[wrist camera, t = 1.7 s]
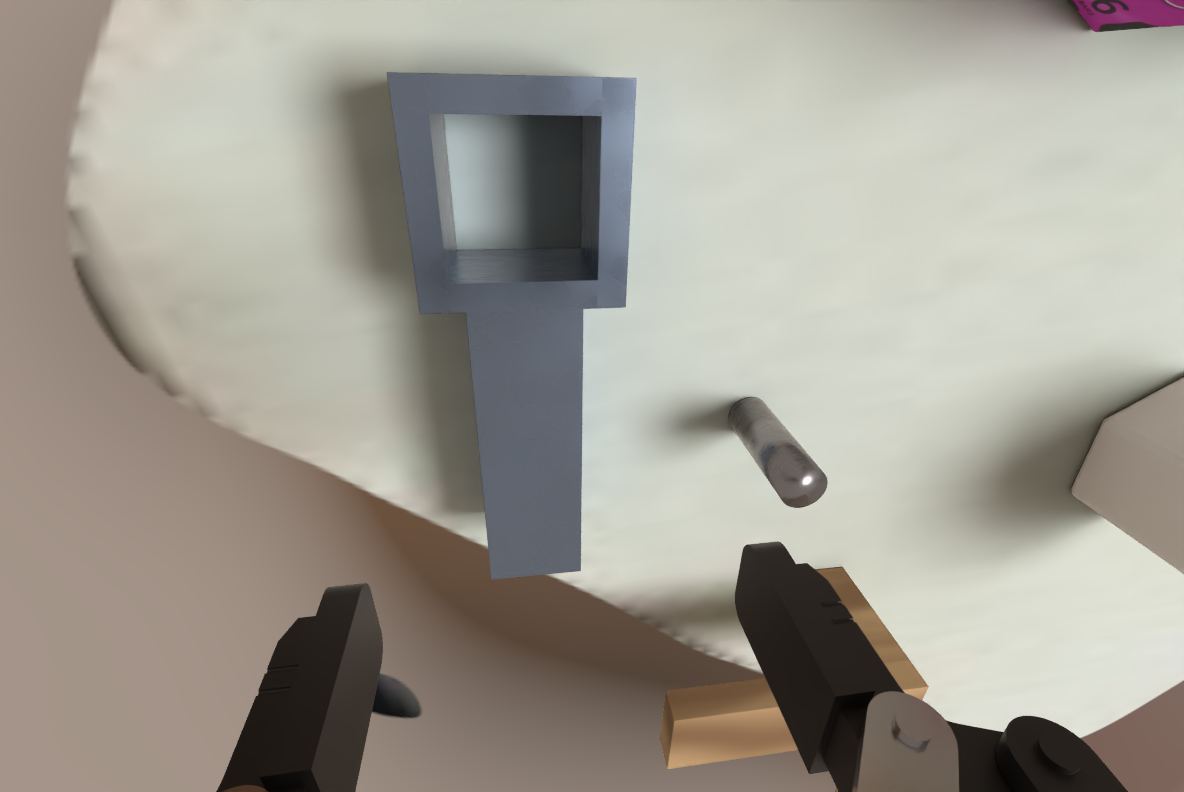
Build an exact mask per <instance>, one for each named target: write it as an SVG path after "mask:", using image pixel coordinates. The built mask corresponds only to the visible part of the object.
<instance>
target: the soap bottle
mask: <svg viewBox="0 0 1184 792" xmlns="http://www.w3.org/2000/svg"><path fill="white" fill-rule="evenodd" d="M1071 489H1072V494H1073V496H1074V497H1075V498H1077V499H1078V500H1080V501H1081V502H1083V503H1084V504H1085V505H1087V506H1088V507H1090V508H1091V509H1092V510H1094V511H1095V512H1097V513H1098V514H1100V515H1101V516H1102V517H1104V518H1105V519H1107V520H1108V521H1109V522H1111V523H1112V524H1114V525H1115V526H1117V527H1118V528H1119V529H1121V530H1122V531H1124V532H1125V533H1126V534H1128V535H1129V536H1131V537H1132V538H1133V539H1135V540H1136V541H1138V542H1139V543H1141V544H1142V545H1143V546H1145V547H1146V548H1148V549H1149V550H1150V551H1152V552H1153V553H1155V554H1156V555H1158V556H1159V557H1160V558H1162V559H1163V560H1165V561H1166V562H1167V563H1169V564H1170V565H1172V566H1173V567H1175V568H1176V569H1177V570H1179V571H1180V572H1182V573H1183V574H1184V377H1183V378H1181V379H1179V380H1177V381H1175V382H1173V383H1171V384H1170V385H1168V386H1166V387H1164V388H1162V389H1160V390H1158V391H1157V392H1155V393H1153V394H1151V395H1149V396H1147V397H1145V398H1143V399H1142V400H1140V401H1138V402H1136V403H1134V404H1132V405H1130V406H1128V407H1127V408H1125V409H1123V410H1121V411H1119V412H1117V413H1115V414H1114V415H1112V416H1110V417H1108V418H1106V419H1104V420H1103V422H1102V424H1101V427H1100V429H1099V431H1098V433H1097V435H1096V437H1095V439H1094V441H1093V444H1092V446H1091V448H1090V450H1089V452H1088V454H1087V456H1086V458H1085V460H1084V463H1083V465H1082V467H1081V469H1080V471H1079V473H1078V475H1077V477H1076V480H1075V482H1074V484H1073V486H1072V488H1071Z"/></svg>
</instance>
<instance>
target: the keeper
mask: <svg viewBox="0 0 1184 792" xmlns="http://www.w3.org/2000/svg"><path fill="white" fill-rule="evenodd" d="M816 571H817V572H818V573H820V574H821V575H822V576H823V577H825V578H826V579H827V580H828V581H829V583H830V584H831V585H832V587H833V588H834V590H835V591H836V593H837V594H838V596H839V597H840V599H841V600H842V604H843V605H845V606H846V608H847V609H848V611H849V612H850V614H851V615H852V617H853V621H854V622H856V623H857V624H858V625H859V627H860V628H861V630H862V631H863V633H864V634H865V636H866V637H867V639H868V640H869V642H870V643H871V645H872V646H873V648H874V649H875V651H876V652H877V654H878V655H879V657H880V658H881V660H882V661H883V663H884V664H885V666H886V667H887V668H888V670H889V671H890V673H891V674H892V676H893V677H894V679H895V680H896V682H897V683H898V685H899V686H900V687H901V689H902V690H903V691H904V692H905V693H906V694H909V695H912V696H914V697H916V698H918V699H920V700H922V699H923V697H924V695H925V693H926V691H927V689H928V687H929V686H928V685H927V684H926V682H925V681H924V680H923V678H922V677H921V675H920V674H919V673H918V671H917V670H916V668H915V667H914V666H913V664H912V663H911V661H910V660H909V659H908V657H907V656H906V654H905V653H904V652H903V650H902V649H901V647H900V646H899V645H898V643H897V642H896V641H895V639H894V638H893V636H892V635H891V634H890V632H889V631H888V629H887V628H886V627H885V625H884V624H883V622H882V621H881V620H880V618H879V617H878V615H877V614H876V613H875V611H874V610H873V609H872V607H871V606H870V604H869V603H868V602H867V600H866V599H865V597H864V596H863V595H862V593H861V592H860V590H859V589H858V588H857V586H856V585H855V583H854V582H853V581H852V579H851V578H850V577H849V575H848V574H847V572H846V571H845V570H844V568H843V567H839V568H829V569H819V570H816ZM660 741H661V745H662V749H663V753H664V757H665V761H666V765H667V769H671V768H678V767H684V766H691V765H698V764H705V763H711V762H719V761H725V760H732V759H739V758H746V757H753V756H760V755H766V754H773V753H780V752H787V751H793V750H798V748H797V746H796V744H795V742H794V740H793V737H792V735H791V733H790V731H789V729H788V726H787V724H786V722H785V720H784V718H783V715H782V713H781V711H780V709H779V707H778V704H777V702H776V700H775V698H774V696H773V693H772V691H771V689H770V687H769V685H768V682H767V680H766V678H763V679H755V680H748V681H739V682H732V683H723V684H715V685H708V686H700V687H692V688H684V689H676V690H668V691H666V695H665V703H664V711H663V719H662V727H661V734H660Z"/></svg>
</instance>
